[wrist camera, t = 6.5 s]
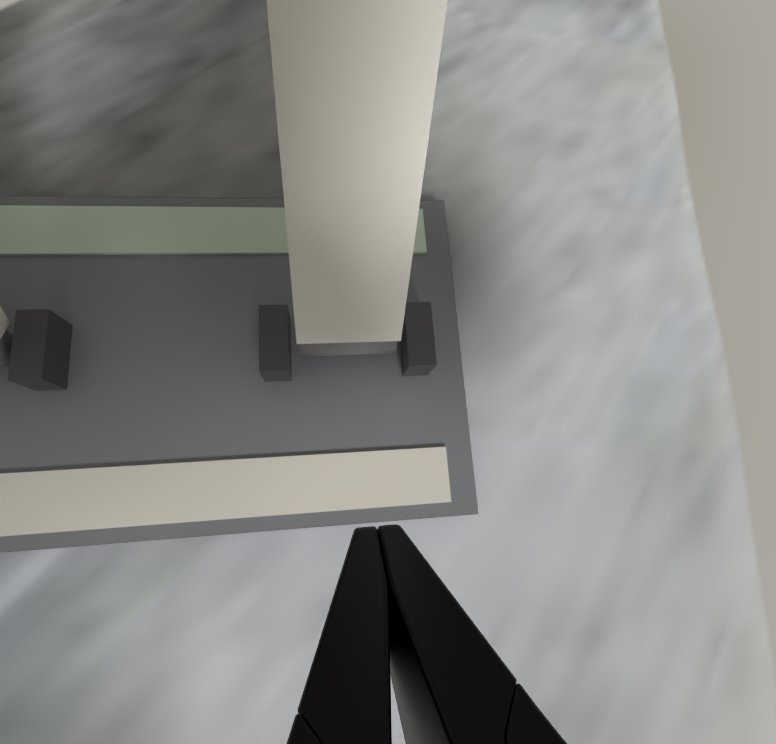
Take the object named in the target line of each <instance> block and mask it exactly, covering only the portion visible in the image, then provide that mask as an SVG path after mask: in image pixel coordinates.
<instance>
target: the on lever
mask: <svg viewBox="0 0 776 744" xmlns="http://www.w3.org/2000/svg"><path fill="white" fill-rule="evenodd" d="M9 325H10V321H9V320H8V318H7V316H6V315H5V313H4V312H3V310H2V308H1V307H0V367H7V366H9V363H10V355H11V346H12V338H13V335H12V334H11V333H10V332H9V331H6V330H7V328H8V326H9Z"/></svg>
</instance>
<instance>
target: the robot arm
mask: <svg viewBox="0 0 776 744" xmlns="http://www.w3.org/2000/svg"><path fill="white" fill-rule="evenodd" d="M390 674H391V679H392V683H393V688H394V693H395V697H396V702H397V706H398V711H399V715H400V720H401V724H402V729H403V733H404V738H405V742H406V744H567V743H566V742H565V741H564V739H563V738H562V737H561V736H560V735H559V733H558V732H557V731H556V730H555V728H554V727H553V726H552V725H551V723H550V722H549V721H548V720H547V718H546V717H545V716H544V715H543V713H542V712H541V711H540V710H539V708H538V707H537V706H536V705H535V703H534V702H533V701H532V699H531V698H530V697H529V695H528V694H527V693H526V691H525V690H524V689H523V687H522V686H521V685H520V684H516V678H515V677H514V676H513V674H512V673H511V672H510V670H509V669H508V668H507V666H506V665H505V664H504V662H503V661H502V660H501V658H500V657H499V656H498V655H497V653H496V652H495V651H494V649H493V648H492V647H491V645H490V644H489V643H488V641H487V640H486V639H485V637H484V636H483V635H482V633H481V632H480V631H479V629H478V628H477V627H476V625H475V624H474V623H473V621H472V620H471V619H470V618H469V616H468V615H467V614H466V612H465V611H464V610H463V608H462V607H461V606H460V604H459V603H458V602H457V600H456V599H455V598H454V596H453V595H452V594H451V592H450V591H449V590H448V588H447V587H446V586H445V584H444V583H443V582H442V580H441V579H440V578H439V577H438V575H437V574H436V573H435V571H434V570H433V569H432V567H431V566H430V565H429V563H428V562H427V561H426V559H425V558H424V557H423V555H422V554H421V553H420V551H419V550H418V549H417V547H416V546H415V545H414V543H413V542H412V541H411V539H410V538H409V537H408V536H407V534H406V533H405V532H404V530H403V529H402V528H401V527H400V526H399V525H384V526H379V527H378V529H376V527H373V526H372V527H361V528H356V529H355V530H354V532H353V535H352V538H351V542H350V545H349V548H348V551H347V554H346V558H345V561H344V564H343V567H342V570H341V573H340V577H339V580H338V583H337V586H336V589H335V593H334V596H333V599H332V602H331V605H330V609H329V612H328V615H327V618H326V621H325V625H324V628H323V631H322V634H321V637H320V640H319V644H318V647H317V650H316V653H315V656H314V660H313V663H312V666H311V669H310V672H309V676H308V679H307V682H306V685H305V688H304V691H303V695H302V698H301V701H300V704H299V707H298V714H297V715H296V716H295V719H294V722H293V726H292V729H291V732H290V735H289V738H288V741H287V744H392V738H391V687H390Z"/></svg>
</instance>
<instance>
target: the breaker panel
mask: <svg viewBox="0 0 776 744" xmlns="http://www.w3.org/2000/svg"><path fill="white" fill-rule="evenodd" d="M0 307H1V308H2V310H3V312H4V313H5V315H6V316H7V318H8V320H9V321H10V325H9V326H8V328H7V330H6V331H9V332H10V333H11V334H12V335H13V338H12V346H11V355H10V363H9V366H7V367H0V552H13V551H25V550H38V549H50V548H62V547H75V546H87V545H99V544H112V543H124V542H137V541H149V540H161V539H174V538H186V537H199V536H211V535H223V534H236V533H248V532H260V531H273V530H285V529H298V528H310V527H322V526H335V525H347V524H360V523H372V522H384V521H397V520H409V519H422V518H434V517H446V516H459V515H471V514H478V508H477V499H476V490H475V480H474V471H473V462H472V453H471V444H470V435H469V426H468V417H467V408H466V399H465V390H464V380H463V371H462V362H461V353H460V344H459V335H458V326H457V317H456V308H455V299H454V290H453V280H452V271H451V262H450V253H449V244H448V235H447V226H446V217H445V208H444V201H437V200H420V205H419V212H418V220H417V227H416V234H415V242H414V249H413V256H412V264H411V271H410V278H409V286H408V293H407V300H406V307H405V315H404V322H403V329H402V337H401V341H397V348H396V353H395V354H369V355H339V356H308V357H301V353H300V344H297V343H296V331H295V320H294V309H293V297H292V286H291V275H290V263H289V252H288V240H287V229H286V218H285V206H284V199H247V198H151V197H56V196H0Z"/></svg>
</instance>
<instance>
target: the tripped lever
mask: <svg viewBox="0 0 776 744" xmlns="http://www.w3.org/2000/svg"><path fill="white" fill-rule="evenodd" d="M266 2H267V13H268V25H269V36H270V48H271V59H272V70H273V82H274V93H275V104H276V116H277V127H278V138H279V150H280V161H281V172H282V184H283V195H284V206H285V218H286V229H287V240H288V252H289V263H290V275H291V286H292V297H293V309H294V320H295V331H296V343H297V344H300V353H301V357H308V356H339V355H369V354H395V353H396V348H397V341H401V337H402V329H403V322H404V315H405V307H406V300H407V293H408V286H409V278H410V271H411V264H412V256H413V249H414V242H415V234H416V227H417V220H418V212H419V205H420V198H421V190H422V183H423V176H424V168H425V161H426V154H427V147H428V139H429V132H430V125H431V117H432V110H433V103H434V95H435V88H436V81H437V73H438V66H439V59H440V51H441V44H442V37H443V29H444V22H445V15H446V8H447V0H266Z"/></svg>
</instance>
